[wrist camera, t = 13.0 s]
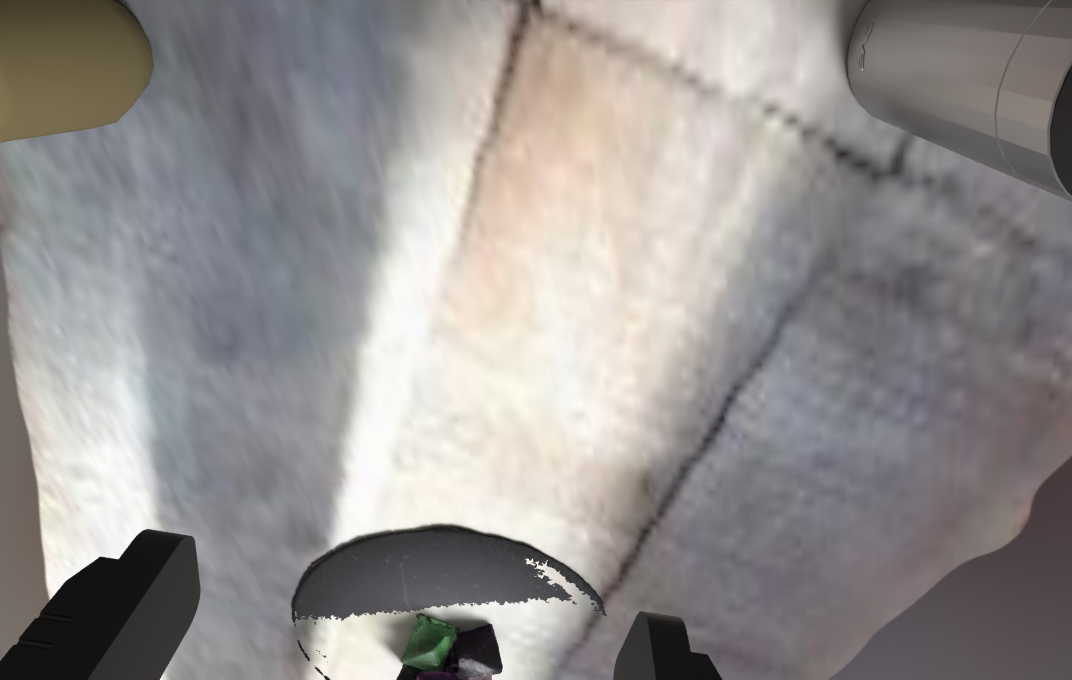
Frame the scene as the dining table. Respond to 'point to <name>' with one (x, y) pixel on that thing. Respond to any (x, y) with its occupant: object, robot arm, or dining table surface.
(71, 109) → the squeeze bottle
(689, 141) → the dining table surface
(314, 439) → the dining table surface
